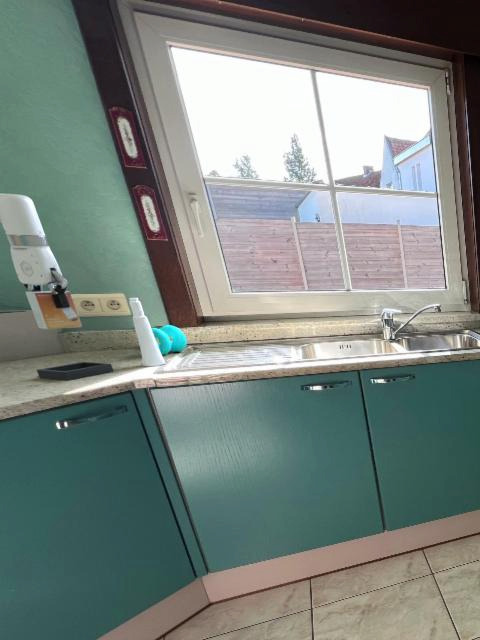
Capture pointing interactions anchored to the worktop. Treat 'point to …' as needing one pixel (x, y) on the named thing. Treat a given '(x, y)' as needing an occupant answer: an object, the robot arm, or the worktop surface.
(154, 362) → the cosmetic bottle
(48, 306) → the small box
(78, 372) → the black tray
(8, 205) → the robot arm
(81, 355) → the worktop surface
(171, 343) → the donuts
